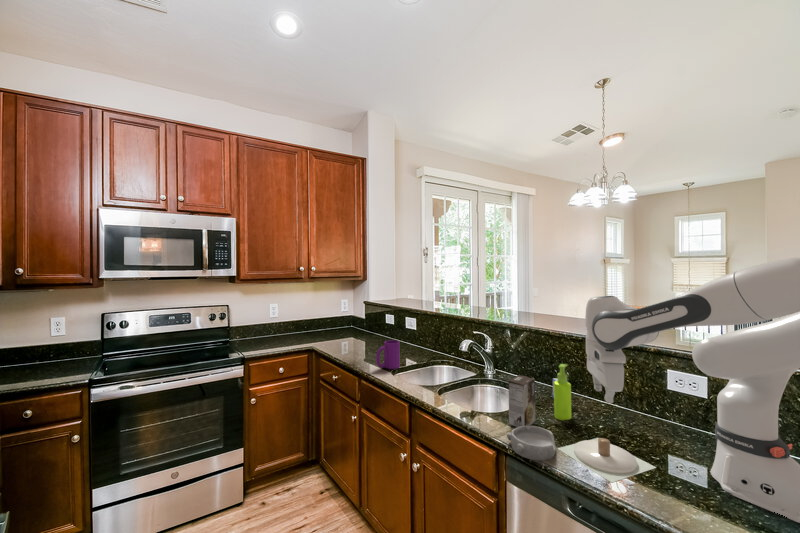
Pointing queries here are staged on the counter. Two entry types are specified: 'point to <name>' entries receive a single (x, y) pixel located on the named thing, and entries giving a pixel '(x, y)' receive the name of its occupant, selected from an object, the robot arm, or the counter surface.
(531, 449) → the dish
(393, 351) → the mug
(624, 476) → the mat
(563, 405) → the soap dispenser
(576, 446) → the lid
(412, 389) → the counter surface
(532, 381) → the coffee box
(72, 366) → the counter surface
